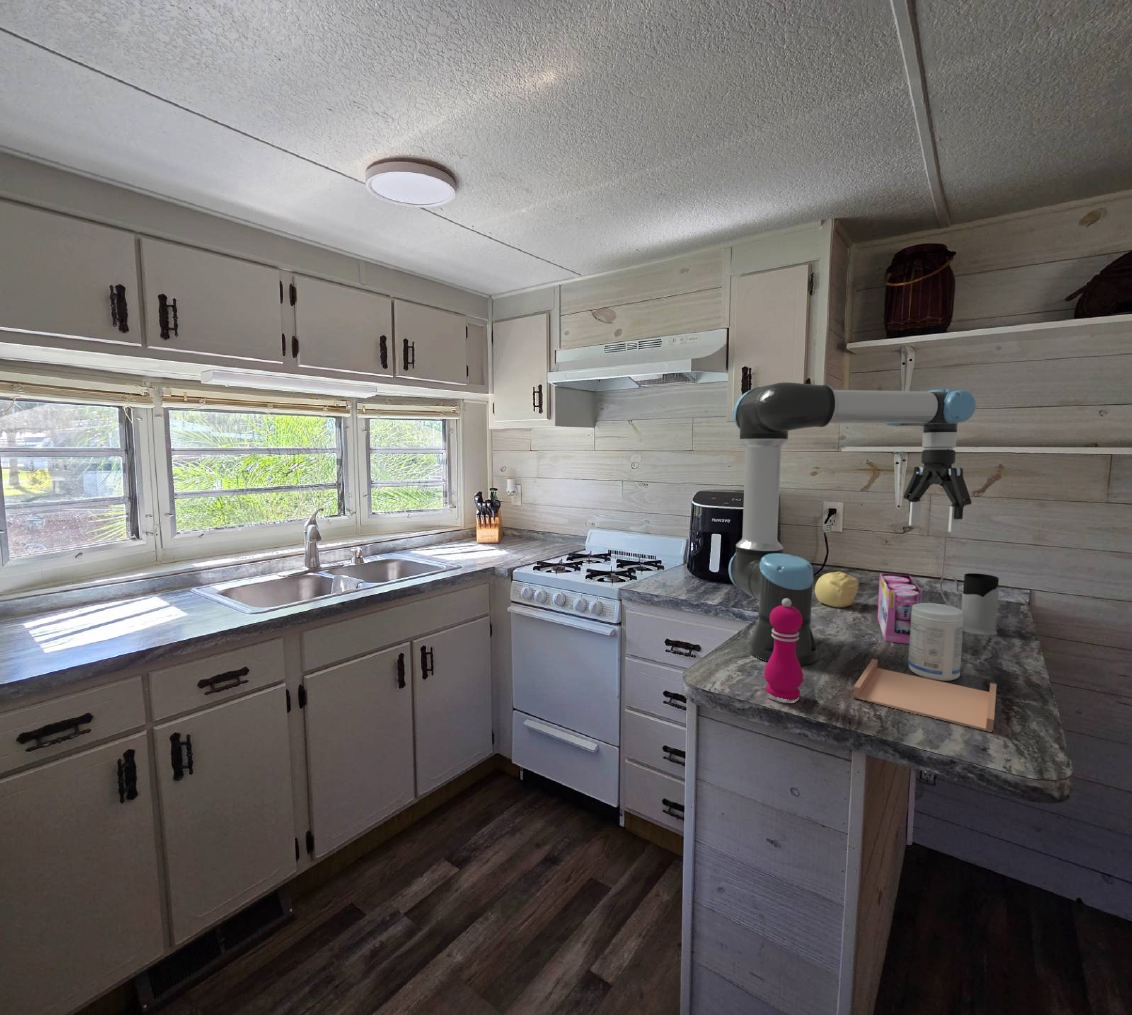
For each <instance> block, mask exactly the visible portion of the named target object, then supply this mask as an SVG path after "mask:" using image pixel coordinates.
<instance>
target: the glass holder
mask: <svg viewBox="0 0 1132 1015" xmlns="http://www.w3.org/2000/svg"><path fill="white" fill-rule="evenodd" d="M947 577H949V578H951V579H953V580H954V582H955V589H956V592H957V593H959V594H961V607H960V610H962V611H963V632H965V633H969V634H972V635H973V634H974V635H978V636H996V635H998V632H997V628H996V627H997V615H998V602H999V590H1000V588H999V581H1000V580H999V579H1000V577H999V576H995V575H991V574H985V573H974V572H972V573H971V572H969V573H964V576H963V589H962V590H963V591H960V590H959V582H958V580H957V578H956V577H955V576H954V575H953V576H952V575H948V574H947V575H944V576H942V577H941V579H940V581H939V590H940V594H941V596H942V599H943V600H944V602H945V603H946V604H947V605H948V606H952V604H951V603H950V602H949V600H947V598H946V596H945V594H944V590H943V580H944V578H947Z"/></svg>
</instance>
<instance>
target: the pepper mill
mask: <svg viewBox="0 0 1132 1015" xmlns="http://www.w3.org/2000/svg"><path fill="white" fill-rule="evenodd" d="M802 622H803V621H802V615H801V613H800V612H799V611H798V610H797V609H796V608H794V607H791V600H790V599H788V598H785V599H783V600H782V606H778V607H775V608H774V609H773V610H772V611H771V614H770V623H771V625H772V626H773V627H774V628H773V629H772V637H773V638H774V650H773V653H772V655H771V657H770V659H769V661H768V662H767V661H766V665H765V668H764V671H763V672H764V673H763V675H764V679H765V681H766V682H767V683H768V684H766V686H765V687H766V688H765V692H766V691H767V692H768V693H770V694H771V695H773V696H775V697H779V698H783V699H787V700H788V699H789V700H793V699H794V700H795V699H797V698H798V697H800V696H801V692H800V691H801V690H800V689H799V687H801V685H802V684H803V683H804V673H803V669H802V667H801V666H802V665H800V664H799V661H798V659H797V656H796V641H797V640H798V639H799V637H798V635H799V632H798V631H797V630H798V629H799V628H800V627H801V625H802ZM800 698H801V697H800Z"/></svg>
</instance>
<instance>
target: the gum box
mask: <svg viewBox="0 0 1132 1015" xmlns="http://www.w3.org/2000/svg"><path fill="white" fill-rule="evenodd" d="M878 580H879V581H878V582H879V584H878V586H879V587H878V602H877V604H878V605H877V620H878V623H879V627H880V630H881V632H882V636H883V638H884V641H885V642H891V643H898V644H904V645H905V644H906V645H910V627H911V611H912V606H913V605H914V604H918V603H923V590H922V589H921V588H920V587H919V585H918V584H917V583H916V582H915V581H914V578H912V576H911V575H910V574H909V575H908V574H896V573H886V572H885V573H883V572H880V574H879V579H878Z"/></svg>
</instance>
